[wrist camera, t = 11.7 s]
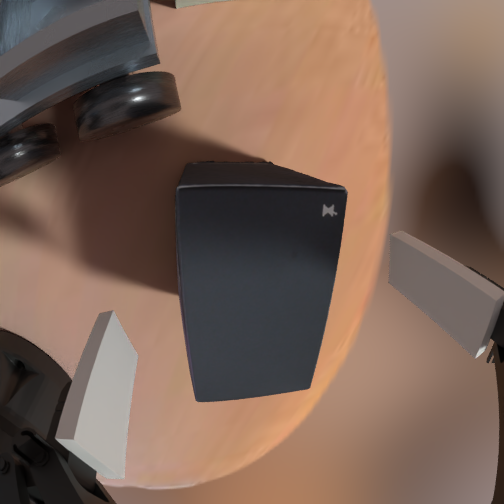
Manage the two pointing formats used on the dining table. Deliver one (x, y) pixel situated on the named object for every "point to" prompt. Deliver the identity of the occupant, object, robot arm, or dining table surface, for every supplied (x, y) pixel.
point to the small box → (255, 275)
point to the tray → (193, 2)
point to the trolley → (76, 74)
